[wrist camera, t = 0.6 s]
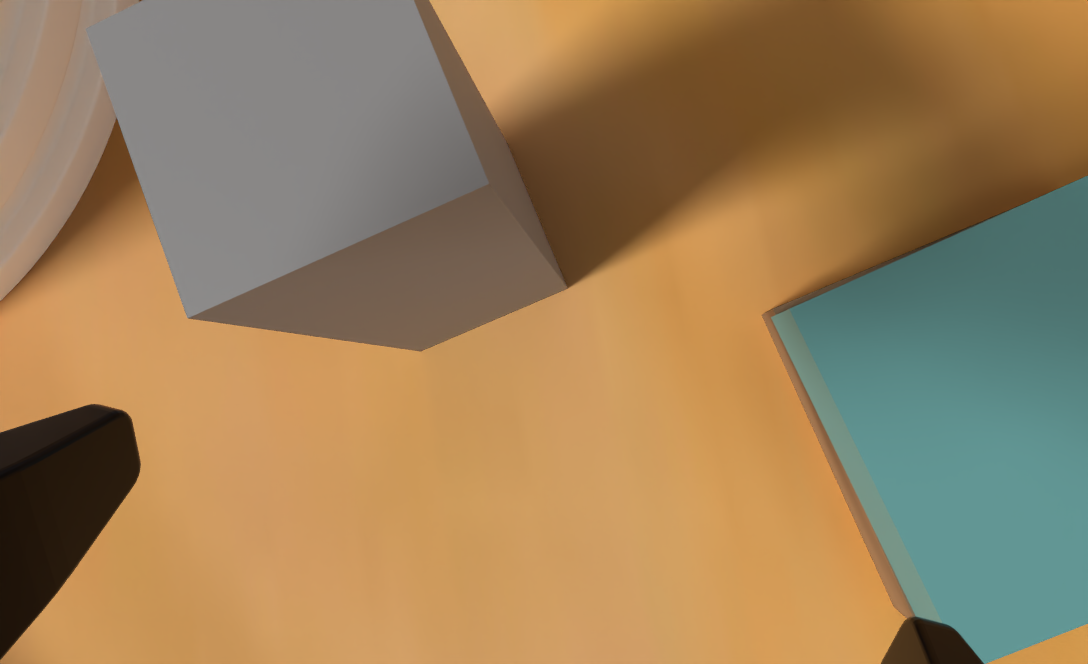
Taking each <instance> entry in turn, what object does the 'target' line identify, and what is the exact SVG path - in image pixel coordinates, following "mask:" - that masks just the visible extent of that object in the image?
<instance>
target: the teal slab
mask: <svg viewBox="0 0 1088 664" xmlns="http://www.w3.org/2000/svg"><path fill="white" fill-rule="evenodd" d="M771 319H772V321H773V323H774V325H775V327H776V329H777V331H778V333H779V335H780V337H781V339H782V341H783V343H784V345H785V348H786V350H787V352H788V354H789V356H790V358H791V360H792V362H793V364H794V366H795V368H796V370H797V372H798V374H799V376H800V378H801V381H802V383H803V385H804V387H805V389H806V391H807V393H808V395H809V397H810V399H811V401H812V403H813V405H814V407H815V409H816V411H817V414H818V416H819V418H820V420H821V422H822V424H823V426H824V428H825V430H826V432H827V434H828V436H829V438H830V440H831V442H832V444H833V447H834V449H835V451H836V453H837V455H838V457H839V459H840V461H841V463H842V465H843V467H844V469H845V471H846V473H847V475H848V478H849V480H850V482H851V484H852V486H853V488H854V490H855V492H856V494H857V496H858V498H859V500H860V502H861V504H862V506H863V508H864V511H865V513H866V515H867V517H868V519H869V521H870V523H871V525H872V527H873V529H874V531H875V533H876V535H877V537H878V539H879V541H880V544H881V546H882V548H883V550H884V552H885V554H886V556H887V558H888V560H889V562H890V564H891V566H892V568H893V570H894V572H895V575H896V577H897V579H898V581H899V583H900V585H901V587H902V589H903V591H904V593H905V595H906V597H907V599H908V601H909V603H910V605H911V607H912V610H913V612H914V614H915V616H917V617H921V618H925V619H929V620H932V621H936V622H940V623H944V624H947V625H949V626H951V627H953V628H954V629H955V630H956V631H957V632H958V633H959V634H960V635H961V636H962V637H963V638H964V640H965V641H966V642H967V643H968V644H969V646H970V647H971V648H972V649H973V651H974V652H975V653H976V654H977V655H978V657H979V658H980V659H981V660H982V661H983V663H984V664H986V663H988V662H991V661H994V660H996V659H999V658H1001V657H1004V656H1006V655H1009V654H1011V653H1014V652H1017V651H1019V650H1022V649H1024V648H1027V647H1029V646H1032V645H1034V644H1037V643H1040V642H1042V641H1045V640H1047V639H1050V638H1052V637H1055V636H1057V635H1060V634H1063V633H1065V632H1068V631H1070V630H1073V629H1075V628H1078V627H1080V626H1083V625H1086V624H1088V176H1086V177H1083V178H1081V179H1079V180H1077V181H1074V182H1072V183H1070V184H1068V185H1065V186H1063V187H1061V188H1059V189H1057V190H1054V191H1052V192H1050V193H1048V194H1045V195H1043V196H1041V197H1039V198H1036V199H1034V200H1032V201H1030V202H1027V203H1025V204H1023V205H1021V206H1018V207H1016V208H1014V209H1012V210H1010V211H1007V212H1005V213H1003V214H1001V215H998V216H996V217H994V218H992V219H989V220H987V221H985V222H983V223H980V224H978V225H976V226H974V227H971V228H969V229H967V230H965V231H962V232H960V233H958V234H956V235H954V236H951V237H949V238H947V239H945V240H942V241H940V242H938V243H936V244H933V245H931V246H929V247H927V248H924V249H922V250H920V251H918V252H915V253H913V254H911V255H909V256H907V257H904V258H902V259H900V260H898V261H895V262H893V263H891V264H889V265H886V266H884V267H882V268H880V269H877V270H875V271H873V272H871V273H868V274H866V275H864V276H862V277H860V278H857V279H855V280H853V281H851V282H848V283H846V284H844V285H842V286H839V287H837V288H835V289H833V290H830V291H828V292H826V293H824V294H821V295H819V296H817V297H815V298H812V299H810V300H808V301H806V302H804V303H801V304H799V305H797V306H795V307H792V308H790V309H788V310H786V311H783V312H781V313H779V314H777V315H775V316H773V317H771Z"/></svg>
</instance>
